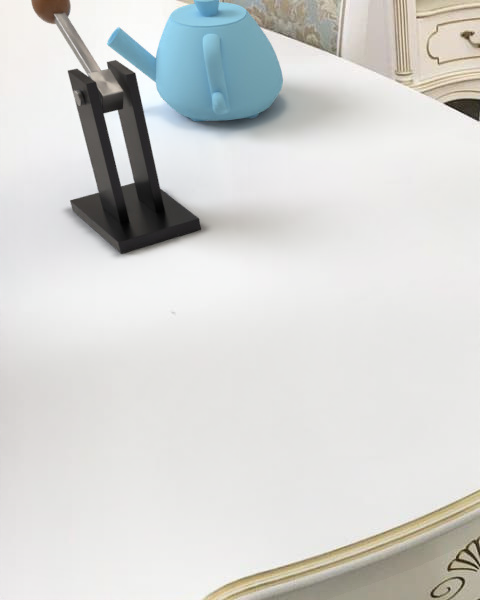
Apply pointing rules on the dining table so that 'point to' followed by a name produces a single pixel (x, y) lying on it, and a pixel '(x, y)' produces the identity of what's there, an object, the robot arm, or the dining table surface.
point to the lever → (81, 52)
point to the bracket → (111, 195)
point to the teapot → (209, 62)
